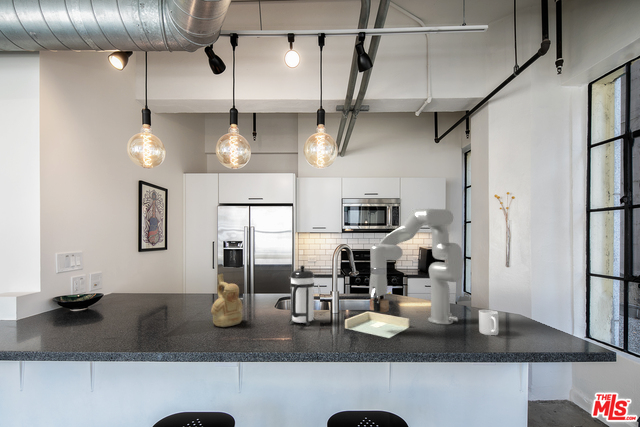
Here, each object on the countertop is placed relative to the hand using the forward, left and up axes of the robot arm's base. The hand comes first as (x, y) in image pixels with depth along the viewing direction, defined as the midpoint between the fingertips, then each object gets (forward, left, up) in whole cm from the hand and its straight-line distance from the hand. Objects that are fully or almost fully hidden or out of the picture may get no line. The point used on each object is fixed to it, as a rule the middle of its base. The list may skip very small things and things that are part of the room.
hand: (379, 309), depth 162 cm
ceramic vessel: (+69, +36, -11) cm, 79 cm away
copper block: (0, 0, 0) cm, 0 cm away
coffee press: (+39, +11, -11) cm, 42 cm away
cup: (-42, -32, -11) cm, 54 cm away
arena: (+4, -6, -11) cm, 13 cm away
